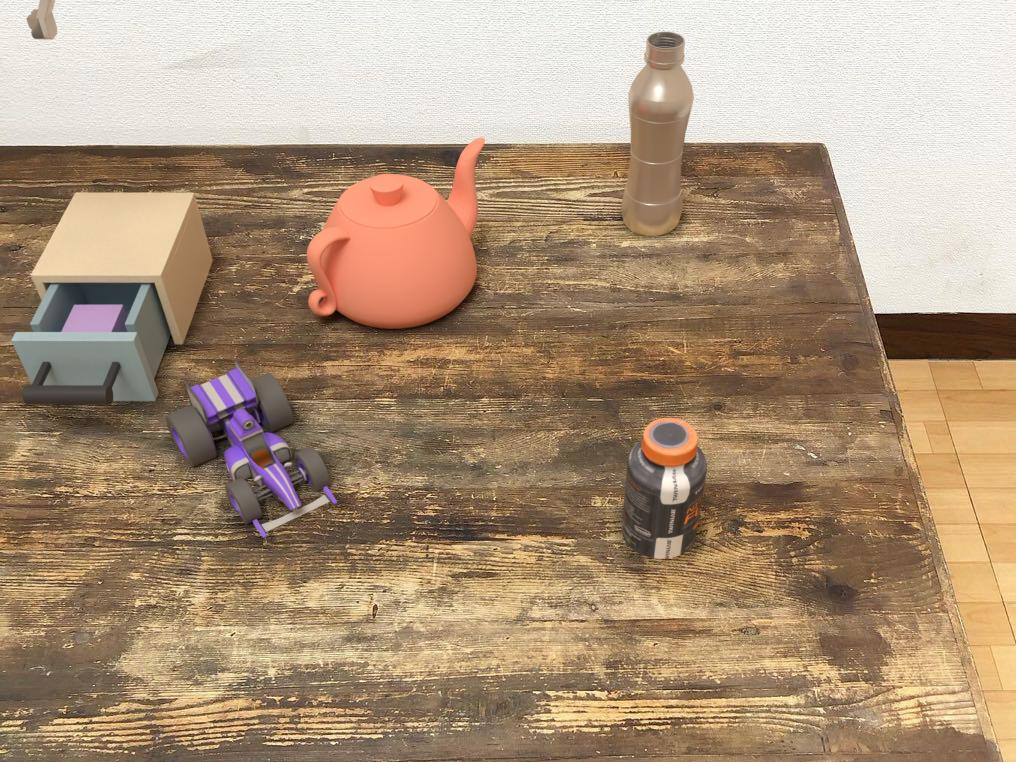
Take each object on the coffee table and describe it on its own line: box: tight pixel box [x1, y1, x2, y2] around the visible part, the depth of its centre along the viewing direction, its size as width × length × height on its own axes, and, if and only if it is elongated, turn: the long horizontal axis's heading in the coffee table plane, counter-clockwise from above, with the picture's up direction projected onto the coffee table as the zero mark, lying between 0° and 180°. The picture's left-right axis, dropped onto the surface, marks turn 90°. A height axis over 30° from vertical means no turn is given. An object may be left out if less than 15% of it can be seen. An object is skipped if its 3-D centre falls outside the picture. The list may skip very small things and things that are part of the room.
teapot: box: [306, 136, 486, 330], centre depth 103 cm, size 22×16×12 cm
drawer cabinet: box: [30, 192, 214, 345], centre depth 102 cm, size 14×12×9 cm
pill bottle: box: [621, 417, 708, 560], centre depth 81 cm, size 6×6×11 cm
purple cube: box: [61, 305, 127, 332], centre depth 96 cm, size 4×4×4 cm
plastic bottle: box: [620, 31, 695, 237], centre depth 107 cm, size 6×7×20 cm
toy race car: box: [165, 359, 339, 539], centre depth 88 cm, size 10×15×6 cm, turn 35°
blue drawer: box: [10, 283, 172, 406], centre depth 95 cm, size 17×10×7 cm, turn 0°
